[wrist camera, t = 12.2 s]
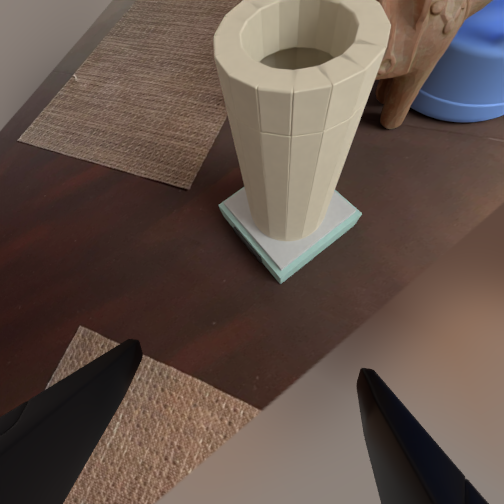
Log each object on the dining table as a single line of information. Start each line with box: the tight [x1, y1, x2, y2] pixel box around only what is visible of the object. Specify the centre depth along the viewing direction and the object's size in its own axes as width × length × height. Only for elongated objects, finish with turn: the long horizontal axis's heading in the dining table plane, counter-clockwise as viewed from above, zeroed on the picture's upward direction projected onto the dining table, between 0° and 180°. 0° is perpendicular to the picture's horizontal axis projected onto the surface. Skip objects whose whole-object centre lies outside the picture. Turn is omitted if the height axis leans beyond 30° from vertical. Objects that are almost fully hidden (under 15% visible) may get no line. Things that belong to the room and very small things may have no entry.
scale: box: [218, 187, 362, 284], centre depth 24 cm, size 10×10×3 cm
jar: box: [213, 0, 391, 241], centre depth 16 cm, size 7×7×14 cm
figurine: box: [375, 0, 493, 129], centre depth 22 cm, size 7×18×15 cm, turn 91°
